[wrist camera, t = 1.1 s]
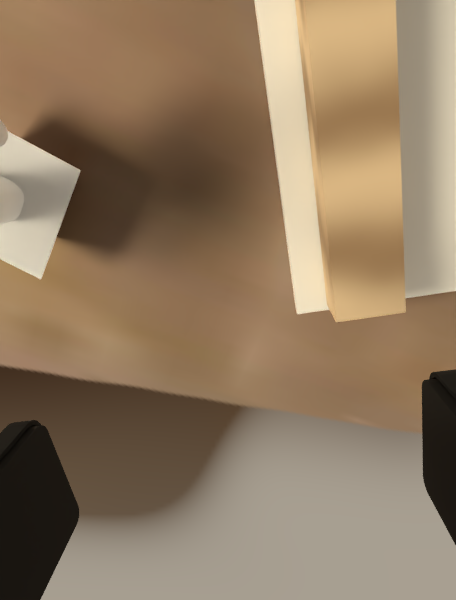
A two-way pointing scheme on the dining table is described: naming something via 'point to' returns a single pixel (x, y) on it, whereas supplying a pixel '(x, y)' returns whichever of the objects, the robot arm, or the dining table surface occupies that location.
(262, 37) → the pivot board
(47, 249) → the figurine
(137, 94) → the dining table surface
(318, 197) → the oak link
